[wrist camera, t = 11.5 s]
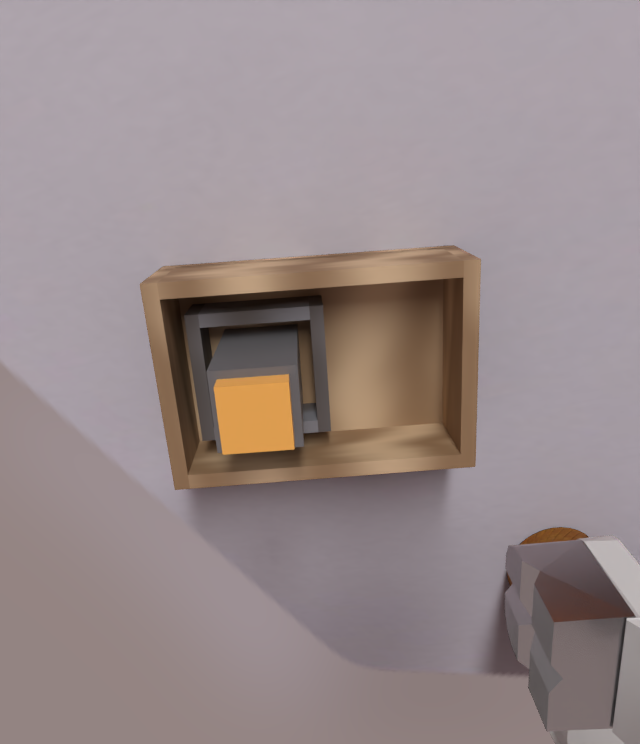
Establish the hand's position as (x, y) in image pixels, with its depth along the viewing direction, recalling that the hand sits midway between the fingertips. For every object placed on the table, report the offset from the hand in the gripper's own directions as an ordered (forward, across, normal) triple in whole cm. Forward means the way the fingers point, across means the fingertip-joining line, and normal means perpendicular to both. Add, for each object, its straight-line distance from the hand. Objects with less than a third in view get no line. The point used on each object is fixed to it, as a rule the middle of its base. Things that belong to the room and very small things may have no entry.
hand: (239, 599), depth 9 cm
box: (+25, -1, +4) cm, 25 cm away
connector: (+24, +2, +4) cm, 24 cm away
